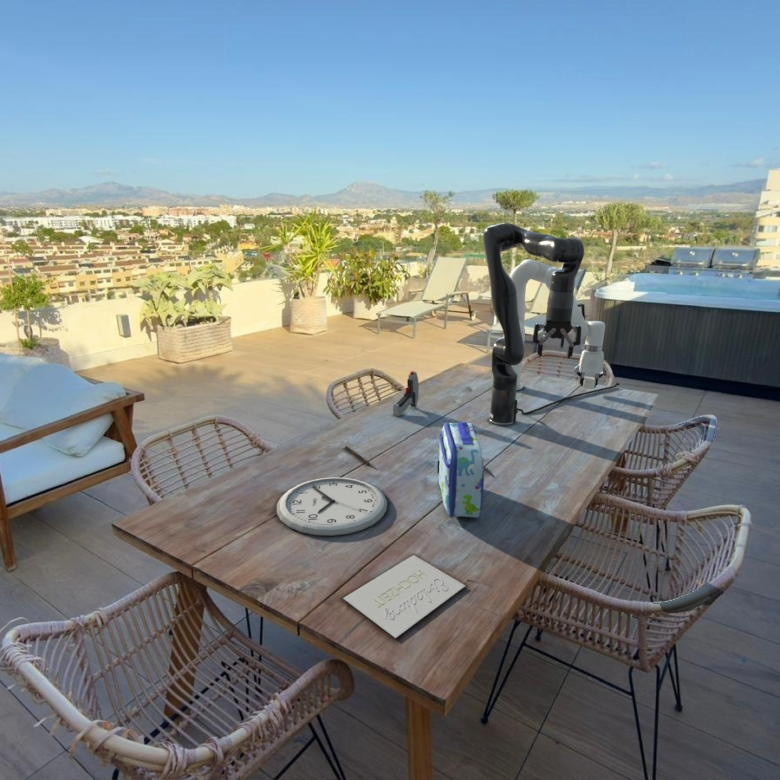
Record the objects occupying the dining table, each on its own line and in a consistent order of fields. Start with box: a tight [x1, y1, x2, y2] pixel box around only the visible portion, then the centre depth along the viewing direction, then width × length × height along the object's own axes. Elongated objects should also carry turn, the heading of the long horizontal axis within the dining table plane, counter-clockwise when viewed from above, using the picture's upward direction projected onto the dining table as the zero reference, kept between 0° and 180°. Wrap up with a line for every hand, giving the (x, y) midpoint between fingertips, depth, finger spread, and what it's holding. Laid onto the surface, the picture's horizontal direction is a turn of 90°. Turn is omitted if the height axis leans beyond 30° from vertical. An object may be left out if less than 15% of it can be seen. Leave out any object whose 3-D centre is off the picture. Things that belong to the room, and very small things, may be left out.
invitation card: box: [343, 554, 466, 639], centre depth 109 cm, size 21×1×15 cm
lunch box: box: [436, 421, 485, 519], centre depth 143 cm, size 26×11×21 cm, turn 179°
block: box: [582, 376, 596, 390], centre depth 244 cm, size 5×5×4 cm
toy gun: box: [392, 370, 420, 417], centre depth 214 cm, size 2×16×15 cm
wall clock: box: [276, 476, 388, 537], centre depth 142 cm, size 30×2×30 cm
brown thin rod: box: [344, 445, 370, 465], centre depth 173 cm, size 15×1×1 cm, turn 34°
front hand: (554, 357), depth 165 cm, fingers open, 8 cm apart
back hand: (588, 385), depth 245 cm, fingers closed on block, 5 cm apart
